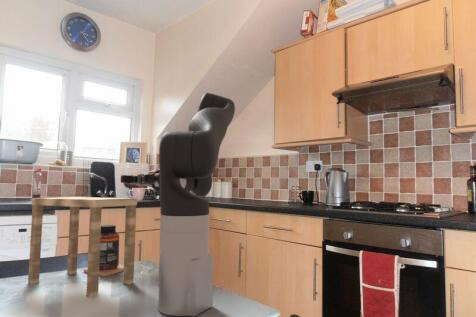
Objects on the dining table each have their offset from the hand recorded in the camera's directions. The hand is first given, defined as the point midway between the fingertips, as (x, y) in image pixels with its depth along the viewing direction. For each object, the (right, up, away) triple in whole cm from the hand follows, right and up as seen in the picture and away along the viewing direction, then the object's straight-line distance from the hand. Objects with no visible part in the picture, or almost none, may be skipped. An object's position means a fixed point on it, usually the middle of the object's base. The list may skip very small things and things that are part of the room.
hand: (132, 178), depth 94 cm
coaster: (-6, -25, -4) cm, 26 cm away
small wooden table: (-7, -24, -16) cm, 29 cm away
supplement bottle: (-6, -24, -4) cm, 25 cm away
